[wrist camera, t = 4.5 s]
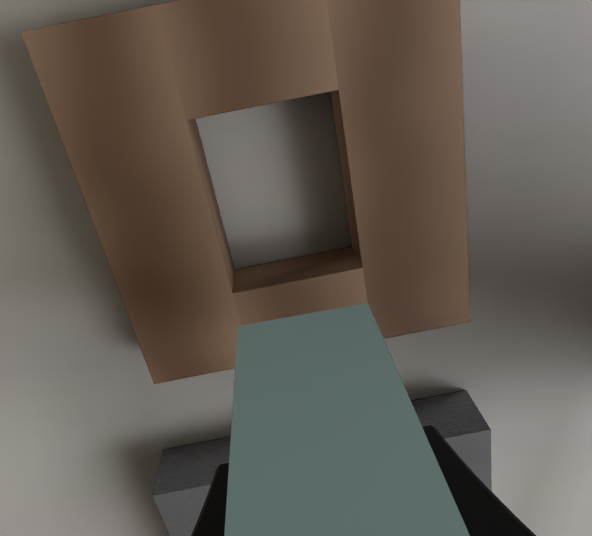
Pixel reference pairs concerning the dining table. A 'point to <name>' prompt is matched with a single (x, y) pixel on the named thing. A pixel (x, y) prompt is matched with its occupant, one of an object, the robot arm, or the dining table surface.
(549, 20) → the dining table surface
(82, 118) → the brown square frame
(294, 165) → the dining table surface
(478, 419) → the port plate
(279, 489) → the plug
